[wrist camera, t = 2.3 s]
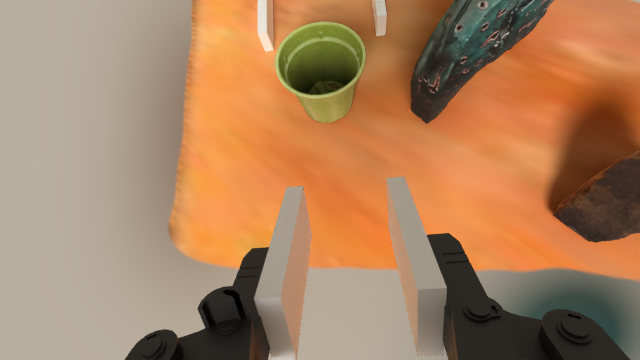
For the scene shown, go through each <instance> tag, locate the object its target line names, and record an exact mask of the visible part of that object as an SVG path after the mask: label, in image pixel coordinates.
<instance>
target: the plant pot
mask: <svg viewBox="0 0 640 360" xmlns="http://www.w3.org/2000/svg"><path fill="white" fill-rule="evenodd" d="M365 61H366V51H365V46H364V44H363V42H362V40H361V38H360V37H359V36H358V35H357V33H355V32H354V31H353V30H352V29H350V28H349V27H347V26H345V25H342V24H339V23H335V22H326V21H324V22H315V23H310V24H307V25H305V26H302V27H300V28H298V29H296V30H294V31H293V32H292V33H290V34H289V35H288V36H287V37H286V38H285V39H284V40H283V42H282V43H281V45H280V46H279V48H278V51H277V53H276V58H275V68H276V73H277V75H278V78H279V79H280V81H281V83H282V84H283V85H284V86H285V87H286V88H287V89H288V90H289V91H290V92H292V93H294V94H295V95H296V96H297V98H298V99H299V101H300V102H301V104H302V106H303V107H304V109H305V111H306V112H307V114H308V115H309V116H310V117H311V118H312V119H314V120H316V121H318V122H322V123H332V122H334V121H336V120H338V119H340V118H343V117H344V116H345V115H346V114H347V113H348V112H349V110H350V108H351V106H352V101H353V95H354V90H355V85H356V81H357V80H358V78H359V77H360V75H361V74H362V72H363V69H364V66H365ZM331 84H333V85H337V86H338V87H339V88H335V87H329V85H331ZM312 93H313V95H311V94H312Z"/></svg>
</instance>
